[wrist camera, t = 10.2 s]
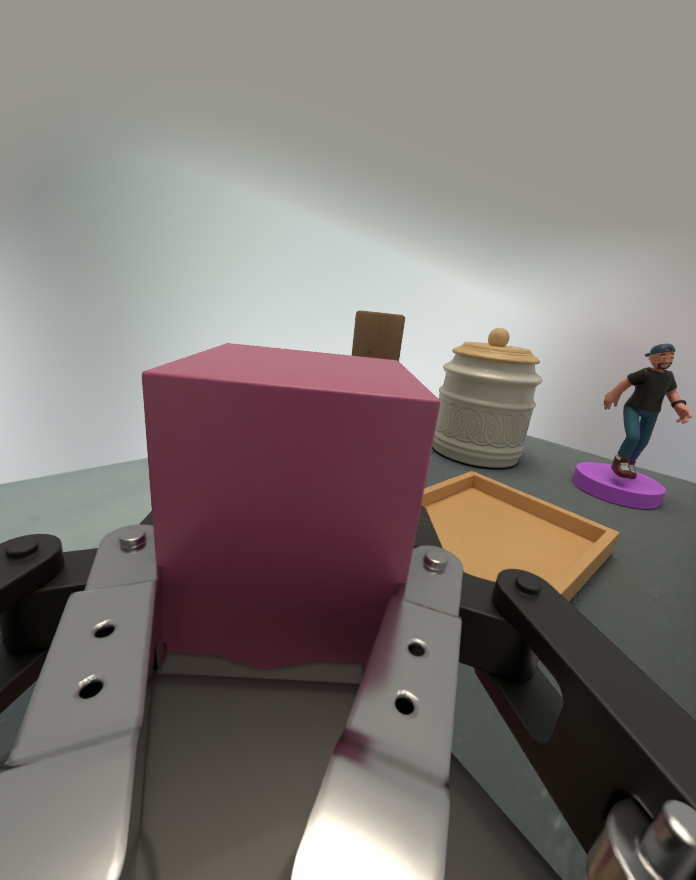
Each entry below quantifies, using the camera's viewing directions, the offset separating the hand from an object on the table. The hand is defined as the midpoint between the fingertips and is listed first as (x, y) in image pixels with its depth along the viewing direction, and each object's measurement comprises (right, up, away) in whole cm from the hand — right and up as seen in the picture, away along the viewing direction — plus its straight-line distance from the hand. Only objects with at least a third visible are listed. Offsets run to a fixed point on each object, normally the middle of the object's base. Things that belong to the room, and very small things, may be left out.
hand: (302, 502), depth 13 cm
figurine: (+35, -4, +35) cm, 50 cm away
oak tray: (+14, -7, +20) cm, 26 cm away
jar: (+20, 0, +44) cm, 48 cm away
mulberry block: (-1, -6, 0) cm, 7 cm away
